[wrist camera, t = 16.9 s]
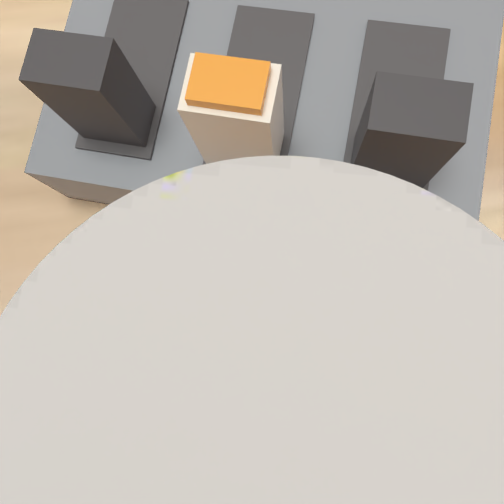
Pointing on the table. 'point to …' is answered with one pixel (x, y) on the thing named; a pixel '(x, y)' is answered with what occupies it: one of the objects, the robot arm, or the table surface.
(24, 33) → the table surface
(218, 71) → the toggle
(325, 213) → the white closed cylinder
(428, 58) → the grey switch box
